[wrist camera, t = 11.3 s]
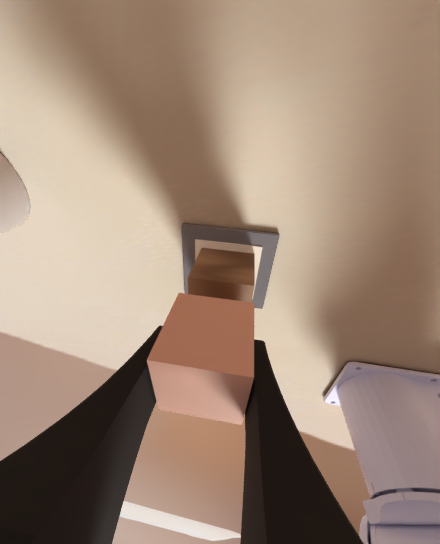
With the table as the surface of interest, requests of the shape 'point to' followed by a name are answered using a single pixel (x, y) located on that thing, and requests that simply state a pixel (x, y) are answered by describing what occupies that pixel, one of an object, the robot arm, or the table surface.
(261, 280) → the mat
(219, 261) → the walnut block
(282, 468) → the robot arm
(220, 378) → the terracotta block
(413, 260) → the table surface
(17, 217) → the coffee cup
